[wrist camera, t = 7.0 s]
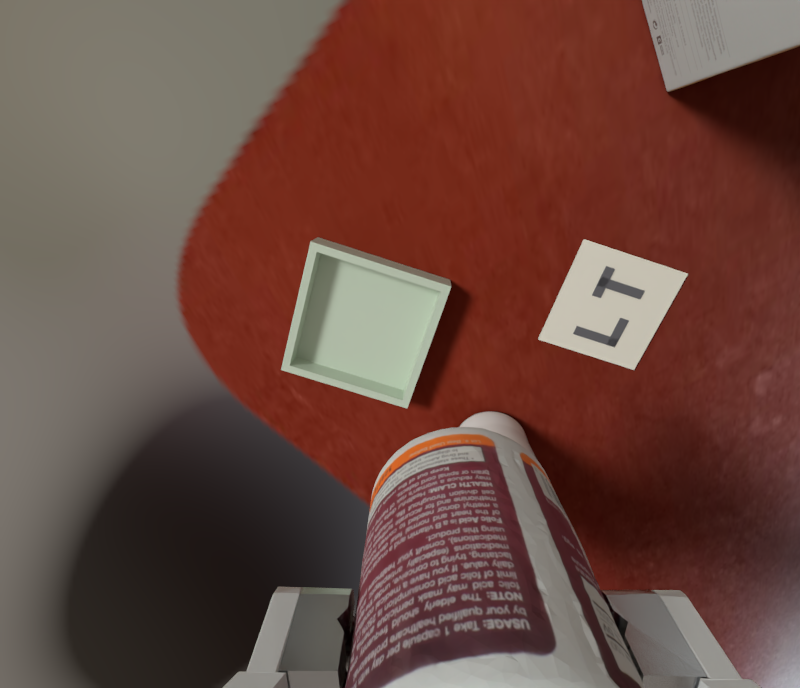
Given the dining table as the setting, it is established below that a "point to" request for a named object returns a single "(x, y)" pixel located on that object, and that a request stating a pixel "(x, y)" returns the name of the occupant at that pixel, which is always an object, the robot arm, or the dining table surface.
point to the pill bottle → (478, 577)
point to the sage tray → (363, 322)
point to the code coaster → (611, 304)
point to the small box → (718, 35)
